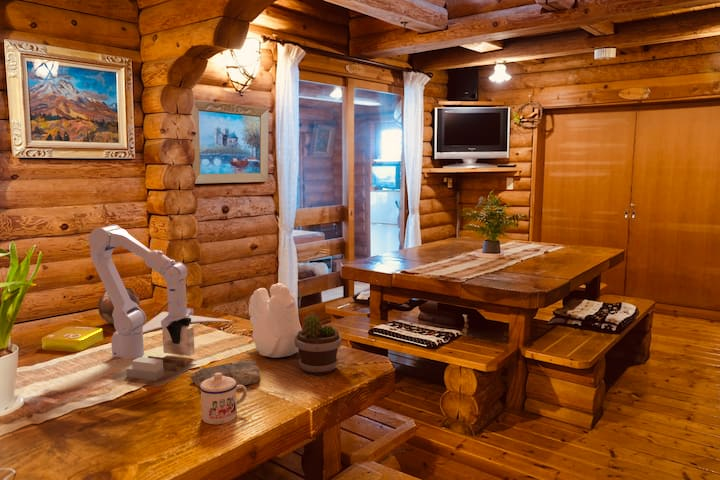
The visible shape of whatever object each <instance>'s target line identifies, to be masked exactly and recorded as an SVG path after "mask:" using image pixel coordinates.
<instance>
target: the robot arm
mask: <svg viewBox="0 0 720 480" xmlns="http://www.w3.org/2000/svg"><path fill="white" fill-rule="evenodd" d="M87 242H88V243H89V245H90V248H89V249H90V259H91V261H92V264H93V265H94V267H95V270H96V271H97V272H96V273H97V274H98V276H99V278H100V280H101V282H102V284H103V287H104V289H105V292H106V291H107V293H108V295H109V297H110V299H111V302H112V304H113V306H114V310H113V313H112V317H113V319H114V325H113V327H114V329H115V332H113V334H112V336H111V341H110V343H111V357H110V360H112V359H114V358H121V359H124V360H130V359H131V360H132V359H133V360H134V359H137V358H139V357H144V354H145V348H144V333H143V325H145V324H146V320H147V317H146V316H147V315H146V313H145V312H144V310H143V309H141V307H140V308H139V306H138V304H137V303H135V302H133V301H132V300H131V299H130V297H129V295H128V293H127V291H126V288H127V287H126V286H125V284H124V282H123V280H122V278H121V276H120V274H119V271H118V269H117V267H116V265H115V263H114V261H113V259H112V255H113V252H114V249H116V248H117V247H119V248H121V247H123V248H124V249H126V250H128V251H130V252H131V253H133V254H134V255H136V256H138V257H140V258H142V259H143V261H144V264H145V265H146V266H147V267H148V268H150V269H152V270H153V271H154V272H156V273H158V274H159V275H161V276H162V278H163V280H164V282H165V283H166V296H167V299H166V300H167V312H168V315H167V316H166V317H165V318H164V319H163V320H161V326H164V327H166V328H167V330H168V331H169V333H170V336H171V339H172V342H173V344H179V343H180V332H181V328H182V325H183V326H190V324H191V323H190V322H191V318H188V317H190V315H193V316H194V308H187V288H186V286H187V285H186V278H187V276H188V273H189V269H188V267H187V266H186V264H184V263H183V262H181V261H177V262H176V260H175V259H171V258H169V257H168V256H167V255H165V254H164V251H162V250H158V249H153V250H151V249H150V248H148V247H147V246H145V245H144V244H143V243H141V242H140V241H139V240H137V239H136V238H135V237H133V236H132V235H130V233H128V231H127V230H126V229H124V228H122V227H120V226H119V225H117V224H110V225H108V226H102V227H95V228H94V229H92V231H91V232H90V234H89V236H88V238H87ZM125 287H126V288H125Z"/></svg>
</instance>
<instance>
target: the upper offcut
mask: <svg viewBox="0 0 720 480" xmlns="http://www.w3.org/2000/svg"><path fill="white" fill-rule="evenodd" d="M131 363H132V364H131V366H132V369H135V370H143V371H150V372H157V371H158V370H160V369H162V368H163V360H161V359H153V358H148V357H144V356H141V357H138V358H134V359H133V360H132V361H131Z"/></svg>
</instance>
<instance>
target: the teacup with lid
mask: <svg viewBox="0 0 720 480" xmlns="http://www.w3.org/2000/svg"><path fill="white" fill-rule="evenodd" d="M239 389H242V390H243V394H242V396H241V398H240V399H238V400H237V390H239ZM199 390H200V399H201V400H200V403H201V405H200V406H201V419H202V421H203V422H204V423H206V424H207V425H208V424H209V425H224V424H228V423H230V422H232V421H234V420H235V419H236V418H237V416H238V412H237V410H238V408H237V407H238V405H240V404H242V403H243V402H244V401H245V400H246V398H247V395H248V389H247V387H246V385H244V386H243V385H237V383H236V381H235V380H234V379H233V378H231V377H225V376H222V373H219V372H218V373H215V374H214V376H213V377H211V378H209V379H206V380H205V381H203V382H202V383H201V385H200V387H199Z"/></svg>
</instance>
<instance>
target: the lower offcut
mask: <svg viewBox="0 0 720 480" xmlns="http://www.w3.org/2000/svg"><path fill="white" fill-rule="evenodd" d="M125 370H126V372H127V377H133V378H140V379H147V380H154V381H156V380H157V379H159V378H161V377H163V376H164V368H162V369H160V370H158V371H157V372H150V371H143V370H135V369H132V365H131V366H128V367H127V368H126V369H125Z"/></svg>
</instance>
